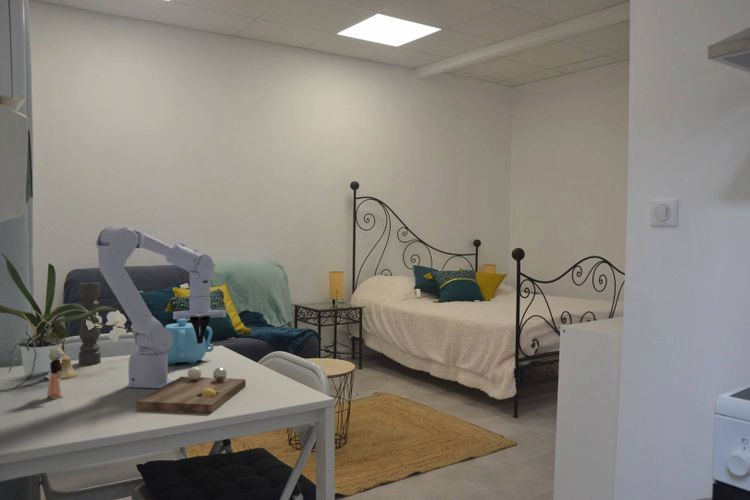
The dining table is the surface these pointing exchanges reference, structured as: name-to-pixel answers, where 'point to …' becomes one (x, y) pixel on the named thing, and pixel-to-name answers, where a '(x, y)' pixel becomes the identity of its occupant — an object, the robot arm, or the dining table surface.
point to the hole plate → (191, 395)
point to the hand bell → (67, 366)
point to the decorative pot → (186, 343)
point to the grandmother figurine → (55, 373)
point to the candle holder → (88, 337)
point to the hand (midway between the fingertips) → (199, 342)
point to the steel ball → (219, 374)
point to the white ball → (194, 373)
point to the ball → (208, 393)
